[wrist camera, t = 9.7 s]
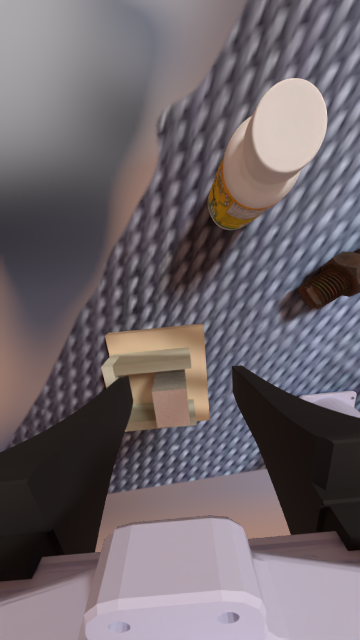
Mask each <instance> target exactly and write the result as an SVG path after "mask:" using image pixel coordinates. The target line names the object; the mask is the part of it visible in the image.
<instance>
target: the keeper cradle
mask: <svg viewBox="0 0 360 640" xmlns="http://www.w3.org/2000/svg"><path fill="white" fill-rule="evenodd" d="M105 338H106V343H107V347H108V351H109V356H110V357H109V358H108V360H107V361H106V362H105V363H104V365H103V366H102V367H101V368H102V372H103V376H104V380H105V384H106V388H107V387H108V386H109V385H111V384H112V383H113V382H114V381H115V380H117V379H118V378H119V377H126V376H129V381H130V386H131V391H132V396H133V401H134V402H133V407H132V411H131V416H130V419H129V422H128V424H127V427H126V430H125V432H126V431H137V430H147V429H158V428H157V421H156V415H155V409H154V403H153V397H152V388H153V383H154V379H155V374H156V372H160V371H170V370H181V369H185V374H186V384H187V394H188V405H189V416H190V425H197V424H196V421H203V420H210V419H209V404H208V388H207V373H206V357H205V342H204V326H203V324H195V325H184V326H174V327H164V328H154V329H144V330H134V331H124V332H113V333H108V334H106V335H105ZM190 425H182V426H190ZM172 427H179V426H172ZM161 428H168V427H161Z"/></svg>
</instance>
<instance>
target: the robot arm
mask: <svg viewBox="0 0 360 640" xmlns="http://www.w3.org/2000/svg"><path fill="white" fill-rule="evenodd" d="M232 381H233V394H234V397H235V400H236V402H237V405H238V407H239V409H240V411H241V413H242V415H243V417H244V419H245V421H246V423H247V425H248V427H249V429H250V431H251V433H252V435H253V437H254V439H255V441H256V443H257V445H258V448H259V450H260V453H261V455H262V458H263V460H264V463H265V465H266V468H267V470H268V473H269V475H270V478H271V481H272V483H273V486H274V488H275V491H276V494H277V496H278V500H279V502H280V505H281V508H282V511H283V513H284V516H285V519H286V522H287V525H288V527H289V531H290V533H291V535H287V536H277V537H265V538H253V539H247V536H246V534H245V532H244V530H243V527H242V526H241V525H239V524H238V523H237V522H235V521H233V520H231V519H229V518H228V517H222V516H211V515H210V516H198V517H188V518H177V519H166V520H155V521H143V522H133V523H129V524H126V525H122V526H119V527H117V528H116V529H115V530H114V531H113V532H112V533H111V534H110V535H109V536H108V537H106V538H105V539H104V543H103V547H102V550H101V552H95V548H96V544H97V538H98V533H99V528H100V524H101V519H102V514H103V510H104V505H105V501H106V496H107V492H108V488H109V483H110V479H111V475H112V471H113V467H114V464H115V460H116V456H117V453H118V450H119V447H120V444H121V442H122V439H123V436H124V433H125V430H126V427H127V424H128V422H129V419H130V416H131V411H132V407H133V402H134V401H133V396H132V391H131V386H130V381H129V376H126V377H119V378H118V379H117V380H115V381H114V382H113V383H112V384H111V385H109V386H108V387H107V388H106V389H105V390H104V391H102V392H101V393H100V394H99V395H98V396H96V397H95V398H94V399H92V400H91V401H90V402H89V403H87V404H86V405H85V406H83V407H82V408H81V409H79V410H78V411H76V412H75V413H73V414H72V415H70V416H69V417H67V418H66V419H64V420H62V421H61V422H59V423H57V424H56V425H54V426H52V427H50V428H49V429H47V430H45V431H43V432H42V433H40V434H38V435H36V436H34V437H32V438H30V439H28V440H26V441H24V442H22V443H20V444H18V445H16V446H14V447H11V448H9V449H7V450H5V451H2V452H0V640H360V412H359V411H357V410H356V409H355V408H354V404H355V400H356V392H354V391H342V392H332V393H321V394H311V395H301V396H299V397H296V396H294V395H292V394H290V393H288V392H285V391H283V390H281V389H280V388H278V387H276V386H274V385H272V384H270V383H269V382H267V381H265V380H264V379H262V378H260V377H259V376H257V375H256V374H254V373H252V372H251V371H249V370H248V369H246V368H245V367H243V366H241V365H240V366H232Z"/></svg>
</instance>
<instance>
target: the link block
mask: <svg viewBox="0 0 360 640" xmlns="http://www.w3.org/2000/svg"><path fill="white" fill-rule="evenodd" d="M152 397H153V403H154V409H155V415H156V421H157V428H161V427H172V426H182V425H190V416H189V405H188V394H187V384H186V374H185V369H181V370H170V371H160V372H156V374H155V379H154V383H153V388H152Z"/></svg>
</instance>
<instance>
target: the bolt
mask: <svg viewBox="0 0 360 640" xmlns="http://www.w3.org/2000/svg"><path fill="white" fill-rule="evenodd" d="M298 292H299V295H300V297H301V299H302V300H303V301H304V302H305V303H306V304H307V305H308V306H309V307H310V308H316V309H319V308H321V307H323V306H324V305H326V304H328V303H330V302H332V301H333V300H335V299H336V298H338V297H340V296H342V295H343V296H348V297H350V296H353V295H355V294H357V293H360V249H359V250H357V251H355V252H341V253H340V254H338V255H337V256H335V257H333V258H332V259H331V260H329V261H328V262H327V263H326V264H324V265H323V266H322V267H321V273H320V274H318V275H317V276H315V277H314V278H312V279H310V280H309V281H307V282H306V283H304V284H302V285H301V286H300V288H299V290H298Z"/></svg>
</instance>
